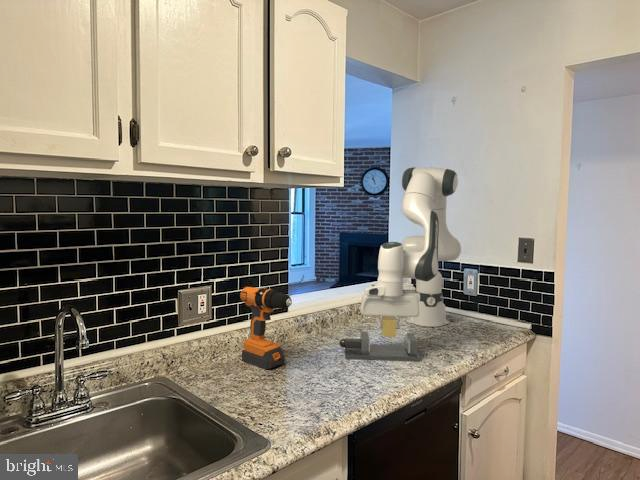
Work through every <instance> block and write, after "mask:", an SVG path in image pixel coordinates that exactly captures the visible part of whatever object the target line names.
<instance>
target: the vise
mask: <svg viewBox="0 0 640 480" xmlns="http://www.w3.org/2000/svg"><path fill="white" fill-rule="evenodd" d="M404 340H405V341H404V345H400V344H399V345H397V344H376V343H375V344H373V343H370V352H369V354H361V349H356V348H344V359H345V360H361V361H362V360H363V361H364V360H367V361H392V362H393V361H394V362H395V361H396V362H420V359H421V357H420V355H419V353H418V351H419V350H418V349H419V348H418V346H419V345H418V344H419V341H418V339H417V336H416V335H415V333H409V332H408V333H406V334H405V338H404Z"/></svg>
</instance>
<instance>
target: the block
mask: <svg viewBox="0 0 640 480" xmlns="http://www.w3.org/2000/svg"><path fill="white" fill-rule="evenodd" d="M381 323H383V329H381V335H382V338H396V337H397V329H396V323H398V320H397V317H396V316H381Z"/></svg>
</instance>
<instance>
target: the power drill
mask: <svg viewBox="0 0 640 480" xmlns="http://www.w3.org/2000/svg"><path fill="white" fill-rule="evenodd" d="M239 297H240V300H241V301H242V302H243V303H244V304H245V306H246V308H247V307H248V308H249V309H250V310H251V318H250V325H249V326H250V337H249V338H246V339H245V340H244V341H243V350H241V360H242V362H245V363H248V364H249V365H253V366H255V367H257V368H259V369H260V368H261V369H263V370H266V371H267V370H269V369H273V368H275V367H278V366H280V365H281V364H284V363H285V361H286V360H285V359H286V357H285V354H284V352H283V350H282V347H281V345H280V344H279V343H275V342H274V341H271V340H268V339H265V335H266V334H265V333H266V325H267V323H266V322H267V321H271V314H272V313H273V312H274V309H275V310H277V309H279V310H280V309H282V310H283V309H284V310H286V309H288V308H289V307H290V306H291V305H292V304H293V300H292V298H291V296H290V295H289V294H286V293H283V292H280V291H278V290H276V289H272V288H266V287H260V288H259V287H252V286H245V287H243V289H242V290H241V291H240V293H239Z"/></svg>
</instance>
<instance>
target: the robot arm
mask: <svg viewBox="0 0 640 480" xmlns="http://www.w3.org/2000/svg"><path fill="white" fill-rule="evenodd" d="M458 184H459V179H458V175H457V172H456V171H455V170H452V169H449V168H446V169H445V168H439V167H415V166H414V167H408V168H406V170H404V171H403V174H402V177H401V186H402V189H403V191H405V192H404V196H403V199H402V203H401V204H402V205H401V210H402V212H403V215H404V216H405V217H406V219H408V220H409V221H410V222H412V223H413V224H416V225H418V226H420V227H421V228H423V229H424V235H409V236H406V237H404V238H403V239H402V241H401V242H398V241H389V242H384V243H382V244H381V245H380V248H379V251H378V252H379V253H378V259H377V271H378V277H377V282H376V283H372V284H369V285H366V286H365V287H364V293H363V295H362V297H361V301H360V307H359V309H360V310H359V311H360V314H361V315H362V316H365V317H366V316H371V317H372V316H373V317H374V318H375V321H376V322H377V328H378V329H379V330H380V329H381V330H382V329H383V323H382V321H380V317H382V316H389V317H396V318H397V317H398V319H399V320H397V322H396V330H400V329H401V325H402V323H403V322H404V318H406V323H408V324H413V325H417V326H421V327H427V328H428V327H435V328H436V327H443V326H445V325H449V324H450V321H449V320H448V319H446V315H447V314H446V305H445V303H444V302H443V296H444V295H443V291H442V290H443V288H442V286H443V276H442V273H441V272H440V271H439V262H450V261H455V260H457V259H458V258H459V257H460V254H461V252H462V247H461V243H460V241H459V239H458V238H456V237H455V236H453V234H452V233H451V231H450V230H449V228H448V225H447V221H446V220H447V217H446V216H447V197H448V196H452V195H453V194H455V192H456V190H457V188H458ZM404 279H413V280H414V279H415V283H416V284H415V286H416V287H415V289H404Z"/></svg>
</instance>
